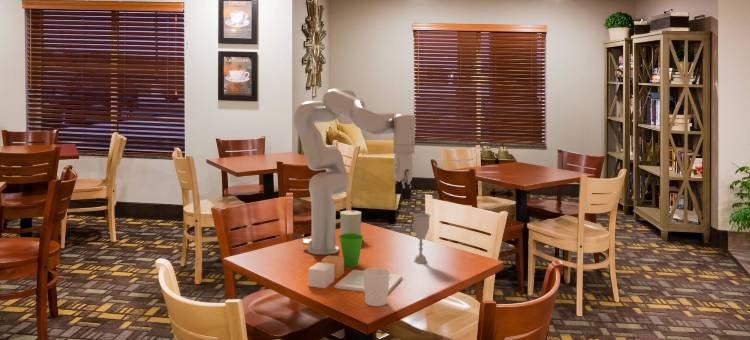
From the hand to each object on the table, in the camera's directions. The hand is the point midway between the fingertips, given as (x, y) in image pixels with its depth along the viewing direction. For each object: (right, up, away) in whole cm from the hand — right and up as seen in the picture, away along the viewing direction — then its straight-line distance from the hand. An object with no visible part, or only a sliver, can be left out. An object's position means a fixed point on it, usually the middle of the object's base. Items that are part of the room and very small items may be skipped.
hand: (402, 196), depth 220 cm
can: (-21, -21, +46) cm, 55 cm away
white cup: (-10, -32, -31) cm, 45 cm away
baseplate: (-12, -29, -13) cm, 34 cm away
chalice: (+7, -26, +13) cm, 30 cm away
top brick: (-25, -27, -4) cm, 37 cm away
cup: (-19, -26, +7) cm, 33 cm away
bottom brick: (-28, -29, -14) cm, 42 cm away
